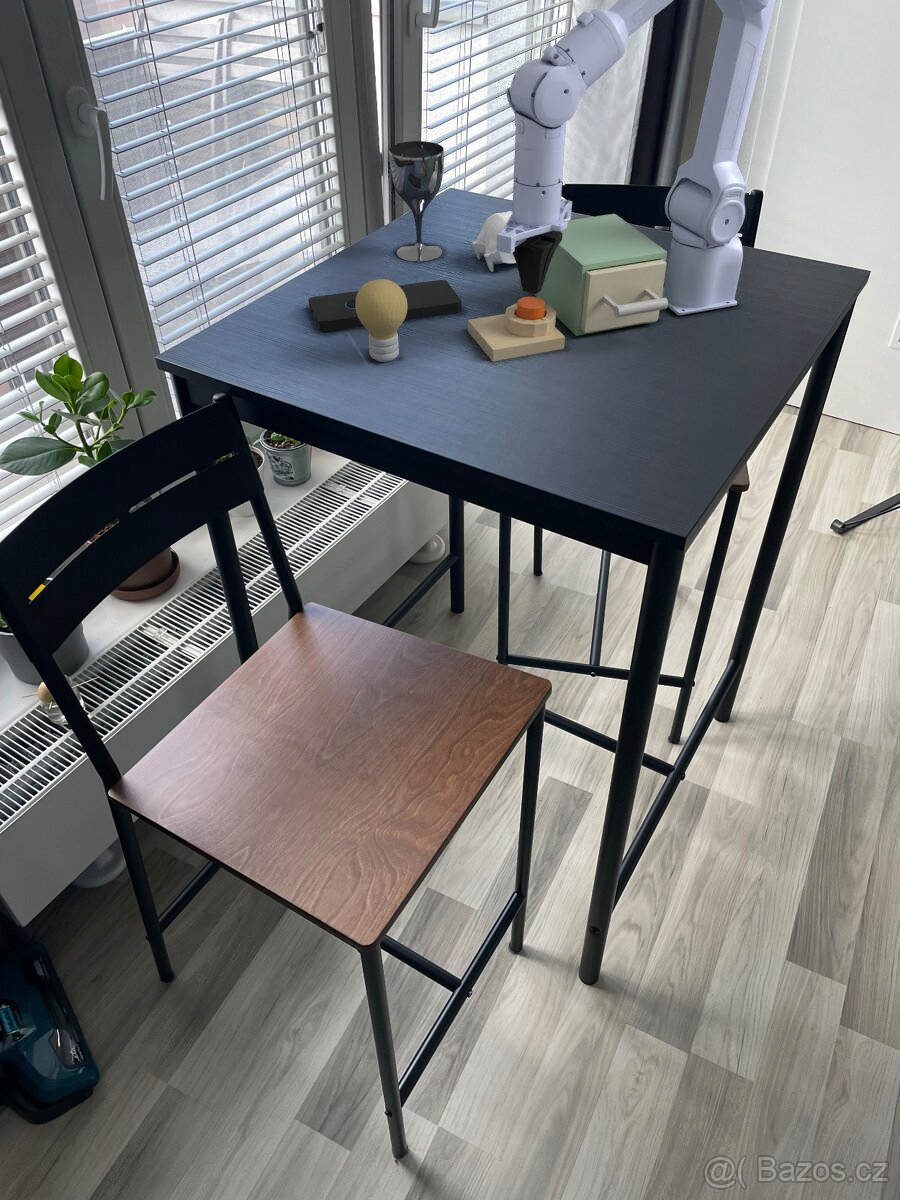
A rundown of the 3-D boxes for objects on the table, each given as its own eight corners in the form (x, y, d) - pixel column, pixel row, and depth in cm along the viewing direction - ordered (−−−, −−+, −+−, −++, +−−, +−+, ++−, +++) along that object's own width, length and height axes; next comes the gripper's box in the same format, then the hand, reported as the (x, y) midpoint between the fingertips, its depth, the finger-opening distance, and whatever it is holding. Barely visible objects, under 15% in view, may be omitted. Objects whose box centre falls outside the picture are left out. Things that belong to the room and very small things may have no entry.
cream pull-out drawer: (676, 335, 120) (686, 276, 114) (600, 349, 117) (607, 289, 112) (611, 281, 132) (618, 226, 127) (542, 292, 130) (545, 236, 124)
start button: (537, 307, 121) (538, 294, 120) (548, 318, 118) (549, 305, 117) (512, 311, 120) (512, 298, 119) (523, 323, 117) (523, 310, 116)
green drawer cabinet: (656, 322, 124) (667, 251, 118) (575, 336, 121) (582, 265, 115) (607, 280, 135) (614, 213, 128) (531, 292, 132) (535, 224, 125)
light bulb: (371, 374, 114) (366, 296, 108) (351, 352, 118) (345, 277, 112) (417, 362, 116) (415, 286, 110) (396, 341, 121) (393, 267, 114)
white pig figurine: (501, 293, 138) (588, 244, 138) (483, 244, 132) (573, 192, 132) (480, 272, 144) (563, 224, 144) (462, 224, 138) (549, 174, 138)
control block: (537, 319, 125) (539, 295, 123) (566, 348, 119) (568, 323, 117) (467, 331, 123) (467, 306, 120) (492, 362, 116) (493, 336, 114)
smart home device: (307, 296, 127) (445, 277, 131) (308, 307, 128) (445, 289, 133) (318, 321, 121) (462, 301, 126) (320, 333, 122) (462, 313, 127)
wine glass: (392, 243, 145) (388, 141, 135) (442, 241, 146) (441, 140, 136) (394, 263, 140) (390, 158, 130) (446, 261, 140) (446, 156, 130)
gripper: (535, 203, 102) (529, 319, 111) (597, 168, 110) (586, 278, 120) (482, 191, 105) (480, 305, 114) (546, 158, 113) (539, 266, 123)
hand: (531, 290), depth 117 cm, fingers closed
